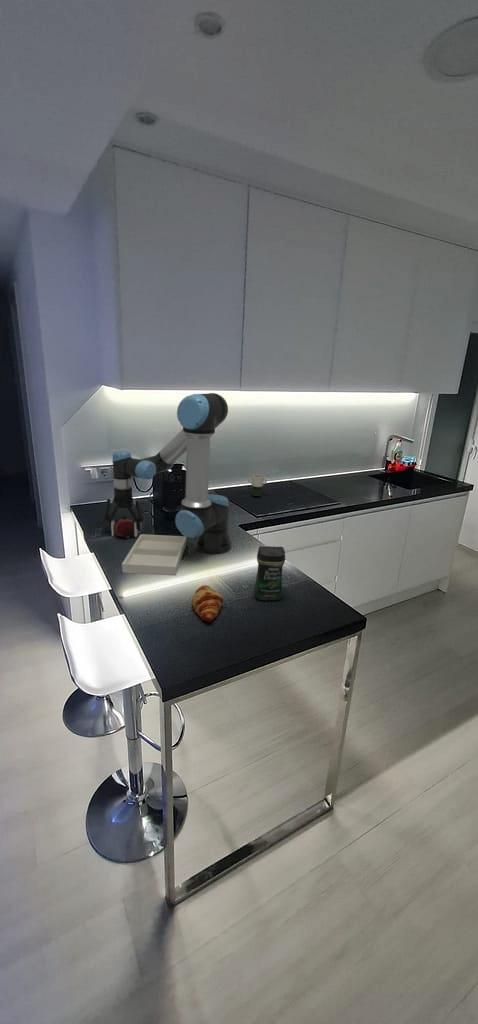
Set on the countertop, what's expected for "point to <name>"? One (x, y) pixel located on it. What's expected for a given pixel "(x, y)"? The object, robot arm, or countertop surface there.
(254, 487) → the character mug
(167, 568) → the fruit holder
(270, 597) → the coffee jar
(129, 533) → the fruit
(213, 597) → the croissant
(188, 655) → the countertop surface
